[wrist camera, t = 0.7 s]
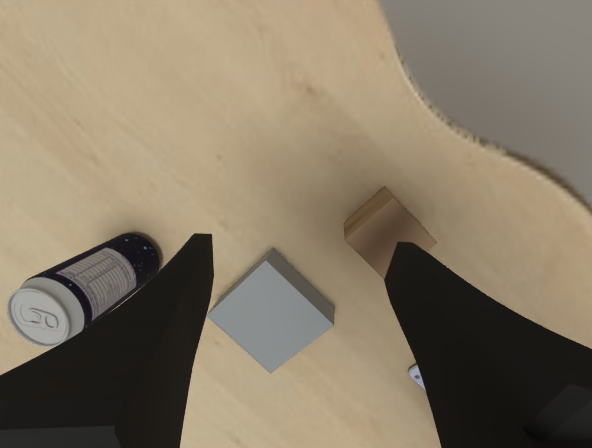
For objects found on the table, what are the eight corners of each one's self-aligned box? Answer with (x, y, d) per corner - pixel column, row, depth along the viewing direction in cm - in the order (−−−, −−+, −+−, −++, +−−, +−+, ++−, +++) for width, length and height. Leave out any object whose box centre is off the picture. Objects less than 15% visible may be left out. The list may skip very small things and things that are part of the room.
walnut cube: (420, 224, 29) (437, 242, 24) (379, 258, 30) (386, 281, 25) (384, 186, 28) (393, 197, 23) (343, 222, 29) (344, 240, 25)
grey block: (334, 305, 32) (334, 325, 29) (277, 350, 35) (270, 373, 32) (273, 246, 31) (265, 260, 28) (219, 297, 34) (206, 315, 31)
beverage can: (117, 224, 33) (-2, 274, 21) (166, 238, 32) (73, 297, 21) (114, 270, 35) (3, 339, 23) (161, 284, 34) (72, 361, 23)
